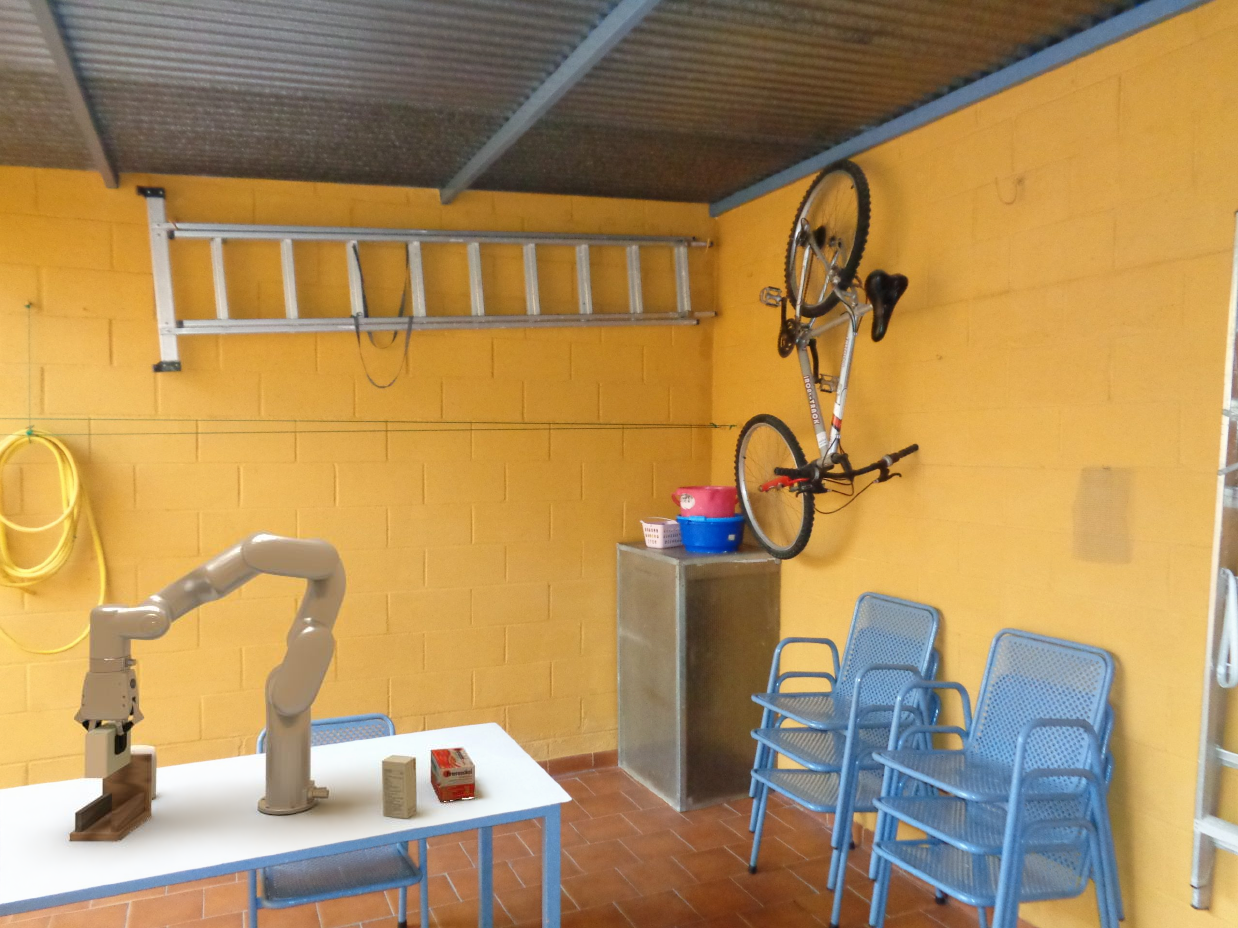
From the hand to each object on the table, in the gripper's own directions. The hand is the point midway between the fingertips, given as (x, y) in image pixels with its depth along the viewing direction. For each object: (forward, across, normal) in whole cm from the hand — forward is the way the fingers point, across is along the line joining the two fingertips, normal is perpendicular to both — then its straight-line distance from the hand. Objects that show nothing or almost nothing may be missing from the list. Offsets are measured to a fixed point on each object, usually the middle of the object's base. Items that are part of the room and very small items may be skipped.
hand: (108, 751), depth 192 cm
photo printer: (+17, +4, -17) cm, 24 cm away
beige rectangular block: (+4, 0, 0) cm, 4 cm away
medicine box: (+16, -67, -24) cm, 73 cm away
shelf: (+16, 0, -1) cm, 16 cm away
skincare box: (+16, -58, -10) cm, 61 cm away
